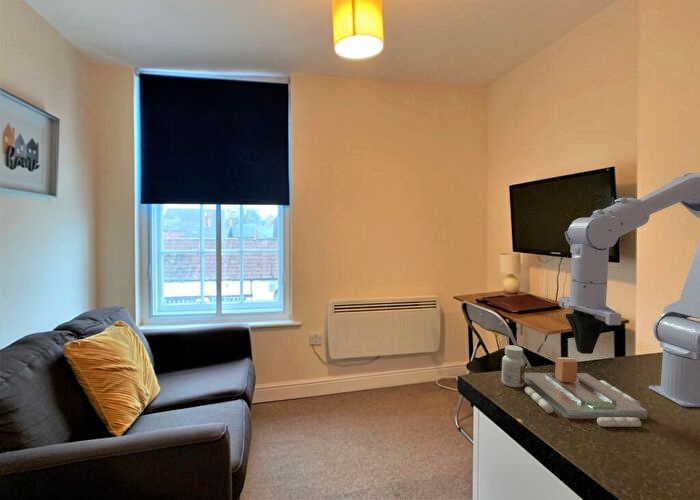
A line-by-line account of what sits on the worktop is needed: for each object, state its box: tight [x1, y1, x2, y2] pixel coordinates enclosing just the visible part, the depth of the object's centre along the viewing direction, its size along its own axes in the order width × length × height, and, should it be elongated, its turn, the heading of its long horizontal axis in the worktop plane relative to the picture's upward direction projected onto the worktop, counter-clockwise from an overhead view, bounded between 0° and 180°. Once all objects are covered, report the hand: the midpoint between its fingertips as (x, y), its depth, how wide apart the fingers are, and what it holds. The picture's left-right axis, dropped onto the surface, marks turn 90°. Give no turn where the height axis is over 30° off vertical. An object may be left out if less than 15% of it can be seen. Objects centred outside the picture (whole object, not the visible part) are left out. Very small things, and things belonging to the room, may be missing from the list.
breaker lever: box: [554, 356, 578, 382], centre depth 75 cm, size 3×2×4 cm
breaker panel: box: [524, 371, 648, 420], centre depth 71 cm, size 14×16×2 cm
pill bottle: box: [500, 344, 526, 388], centre depth 76 cm, size 4×4×8 cm
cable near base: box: [599, 379, 642, 407], centre depth 71 cm, size 1×10×1 cm, turn 0°
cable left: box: [596, 417, 642, 428], centre depth 60 cm, size 7×1×1 cm, turn 90°
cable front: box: [524, 386, 555, 414], centre depth 69 cm, size 1×8×1 cm, turn 0°
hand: (584, 352), depth 69 cm, fingers closed
